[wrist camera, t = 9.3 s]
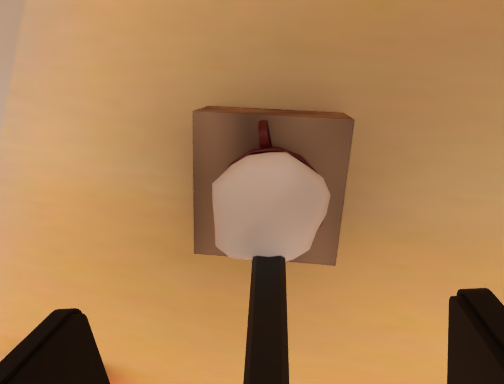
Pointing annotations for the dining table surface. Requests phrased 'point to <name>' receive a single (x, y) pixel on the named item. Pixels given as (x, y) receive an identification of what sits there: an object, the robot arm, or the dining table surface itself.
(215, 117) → the walnut block
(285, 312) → the cocoa
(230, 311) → the dining table surface
